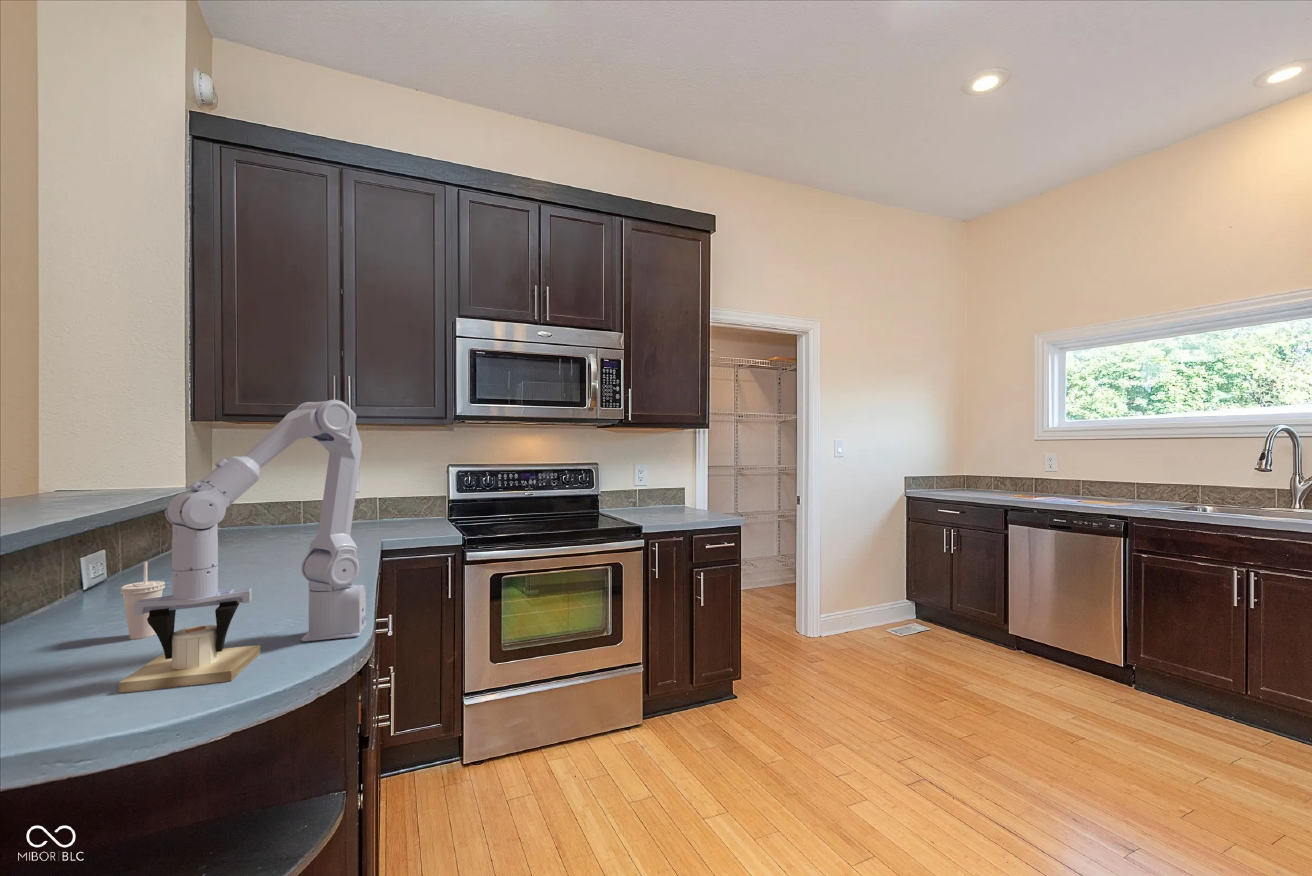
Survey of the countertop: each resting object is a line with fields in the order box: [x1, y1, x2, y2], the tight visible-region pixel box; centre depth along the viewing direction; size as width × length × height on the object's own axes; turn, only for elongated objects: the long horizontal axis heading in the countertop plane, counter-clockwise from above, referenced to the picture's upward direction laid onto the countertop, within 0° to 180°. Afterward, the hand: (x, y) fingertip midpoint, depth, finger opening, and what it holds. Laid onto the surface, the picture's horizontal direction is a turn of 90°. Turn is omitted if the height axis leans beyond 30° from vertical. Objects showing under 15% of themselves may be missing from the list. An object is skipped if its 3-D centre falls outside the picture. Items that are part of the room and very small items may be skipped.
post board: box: [118, 644, 262, 694], centre depth 92 cm, size 14×12×5 cm
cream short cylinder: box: [172, 624, 218, 669], centre depth 92 cm, size 6×6×5 cm
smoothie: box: [119, 561, 166, 640], centre depth 109 cm, size 6×6×14 cm
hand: (195, 653), depth 92 cm, fingers closed on cream short cylinder, 6 cm apart
